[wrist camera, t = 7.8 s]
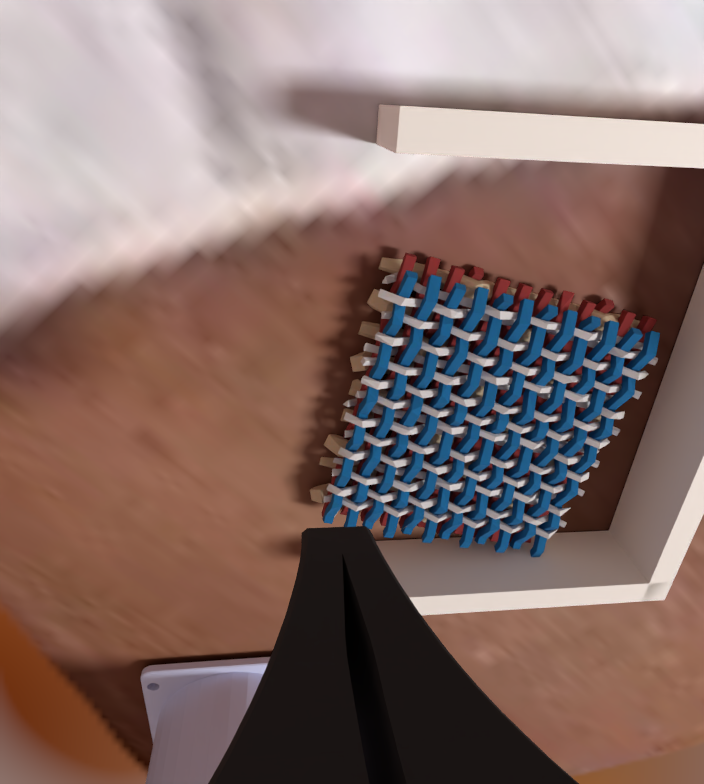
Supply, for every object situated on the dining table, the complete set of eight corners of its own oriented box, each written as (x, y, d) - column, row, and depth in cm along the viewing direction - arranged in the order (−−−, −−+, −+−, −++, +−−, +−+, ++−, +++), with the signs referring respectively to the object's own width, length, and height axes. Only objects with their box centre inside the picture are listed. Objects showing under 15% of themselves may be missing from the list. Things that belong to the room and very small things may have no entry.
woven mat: (654, 307, 20) (691, 328, 18) (533, 530, 24) (553, 564, 22) (381, 234, 17) (393, 249, 16) (303, 496, 22) (305, 531, 20)
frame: (623, 546, 25) (664, 599, 22) (347, 560, 23) (357, 619, 20) (781, 128, 17) (875, 134, 14) (378, 104, 15) (400, 105, 12)
